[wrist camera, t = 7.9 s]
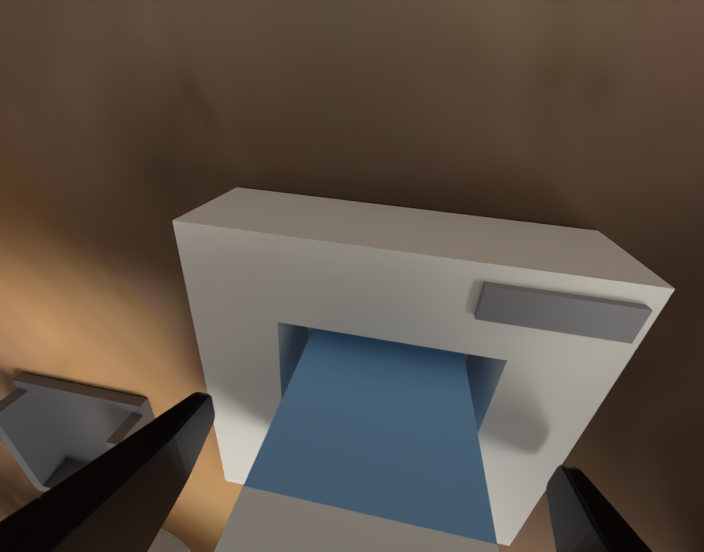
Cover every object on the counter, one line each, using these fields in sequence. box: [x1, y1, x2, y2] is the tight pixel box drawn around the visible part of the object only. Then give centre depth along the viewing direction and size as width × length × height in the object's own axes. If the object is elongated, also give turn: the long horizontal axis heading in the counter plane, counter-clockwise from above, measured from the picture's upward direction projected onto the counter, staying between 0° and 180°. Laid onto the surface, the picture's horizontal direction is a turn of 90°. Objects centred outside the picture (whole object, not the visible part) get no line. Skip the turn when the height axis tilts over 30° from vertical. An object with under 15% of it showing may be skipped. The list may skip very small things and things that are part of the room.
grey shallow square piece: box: [0, 373, 154, 492], centre depth 17 cm, size 7×7×2 cm
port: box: [172, 187, 675, 546], centre depth 10 cm, size 10×10×3 cm
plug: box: [214, 328, 499, 552], centre depth 8 cm, size 4×4×7 cm
